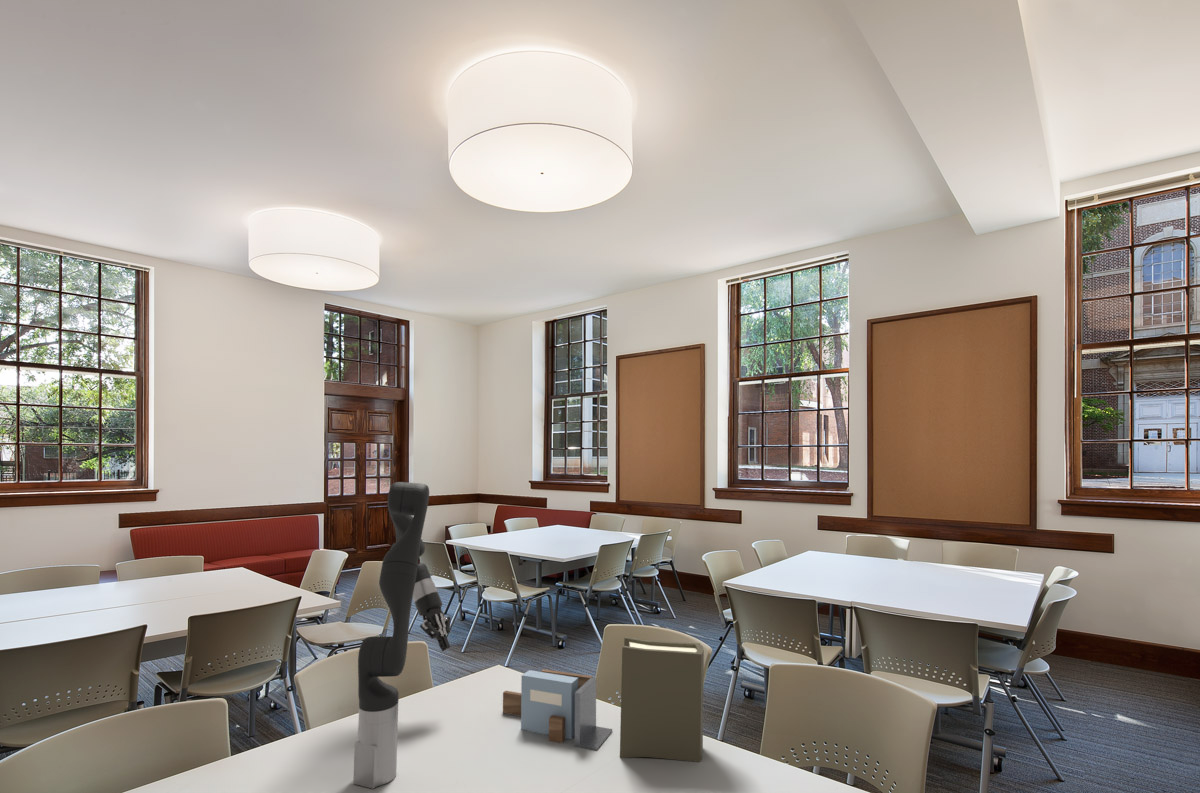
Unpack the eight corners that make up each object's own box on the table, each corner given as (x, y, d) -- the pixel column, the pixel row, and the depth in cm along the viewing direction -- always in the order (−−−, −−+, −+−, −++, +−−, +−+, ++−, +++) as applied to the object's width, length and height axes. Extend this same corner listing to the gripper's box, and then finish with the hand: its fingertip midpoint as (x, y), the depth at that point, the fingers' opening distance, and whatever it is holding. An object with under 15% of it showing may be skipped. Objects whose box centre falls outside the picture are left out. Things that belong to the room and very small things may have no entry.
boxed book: (571, 739, 168) (571, 683, 170) (520, 729, 174) (521, 675, 176) (578, 732, 173) (578, 677, 174) (528, 722, 179) (529, 670, 180)
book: (701, 747, 165) (702, 641, 168) (703, 764, 156) (704, 652, 158) (622, 740, 168) (624, 636, 170) (619, 757, 158) (622, 647, 161)
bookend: (596, 750, 162) (596, 696, 163) (574, 746, 164) (574, 692, 166) (612, 731, 173) (612, 680, 174) (591, 727, 176) (591, 677, 177)
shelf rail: (575, 745, 165) (575, 691, 166) (483, 728, 175) (484, 677, 177) (592, 726, 176) (592, 676, 178) (505, 710, 187) (505, 663, 188)
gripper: (421, 592, 184) (442, 647, 177) (447, 589, 196) (468, 640, 189) (403, 604, 185) (423, 659, 179) (430, 600, 197) (449, 651, 191)
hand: (446, 649), depth 184 cm, fingers closed
